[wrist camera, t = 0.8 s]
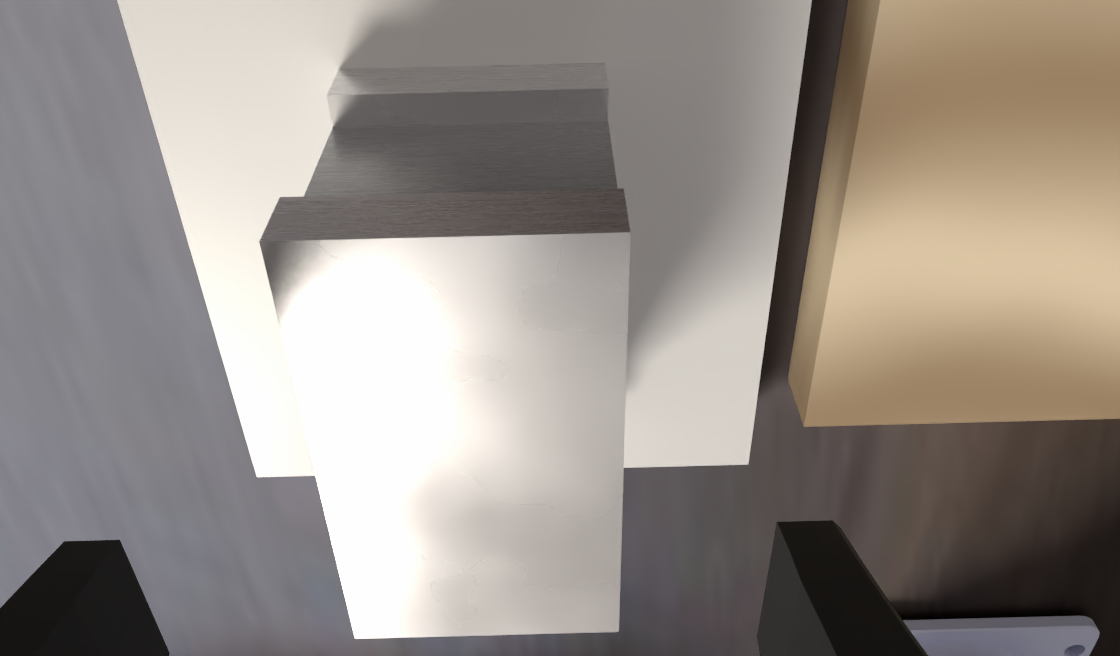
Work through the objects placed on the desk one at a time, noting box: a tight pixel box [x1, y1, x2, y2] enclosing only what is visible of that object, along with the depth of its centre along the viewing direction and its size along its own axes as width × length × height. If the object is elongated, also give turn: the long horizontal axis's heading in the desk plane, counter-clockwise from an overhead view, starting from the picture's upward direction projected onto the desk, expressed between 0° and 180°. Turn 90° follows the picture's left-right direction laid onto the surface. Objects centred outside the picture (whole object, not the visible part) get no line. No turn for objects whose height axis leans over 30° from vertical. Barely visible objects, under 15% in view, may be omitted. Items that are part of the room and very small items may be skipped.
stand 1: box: [117, 0, 812, 477], centre depth 17 cm, size 10×10×2 cm
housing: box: [259, 63, 630, 639], centre depth 14 cm, size 7×4×5 cm, turn 1°
